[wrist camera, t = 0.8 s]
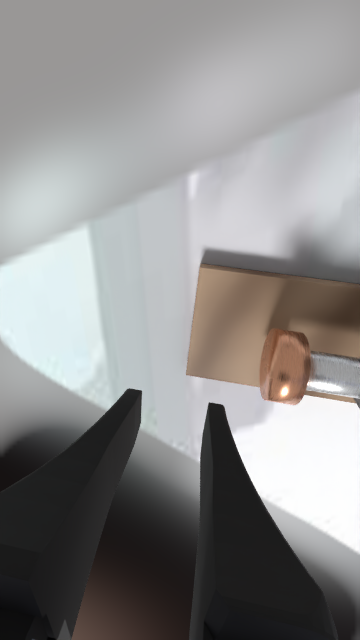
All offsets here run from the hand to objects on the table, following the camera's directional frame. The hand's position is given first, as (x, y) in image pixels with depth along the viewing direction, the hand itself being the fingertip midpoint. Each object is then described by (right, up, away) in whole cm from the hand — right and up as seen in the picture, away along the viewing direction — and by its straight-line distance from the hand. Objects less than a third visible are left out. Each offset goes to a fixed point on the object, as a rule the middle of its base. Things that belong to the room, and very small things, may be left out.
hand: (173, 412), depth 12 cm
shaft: (+10, +2, +6) cm, 12 cm away
